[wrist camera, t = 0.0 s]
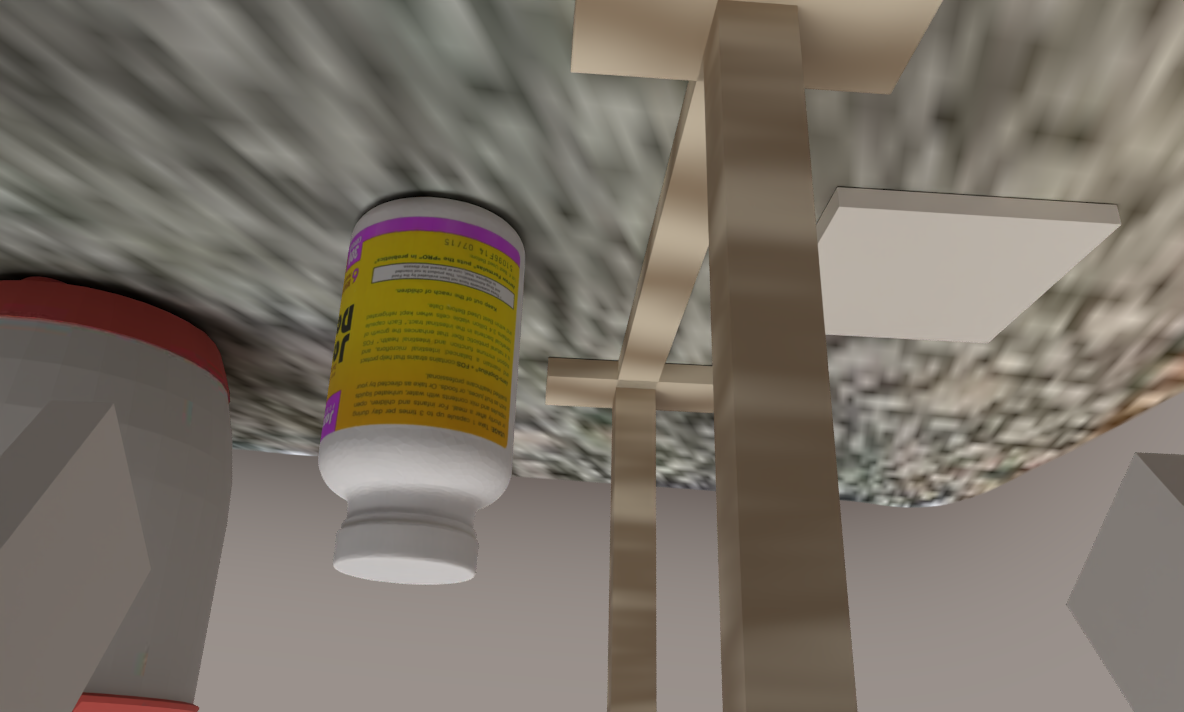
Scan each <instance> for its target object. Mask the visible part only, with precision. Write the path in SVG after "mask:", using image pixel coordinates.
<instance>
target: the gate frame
mask: <svg viewBox="0 0 1184 712" xmlns="http://www.w3.org/2000/svg"><path fill="white" fill-rule="evenodd" d="M942 1H943V0H575V11H574V24H573V38H572V56H571V72H577V73H591V74H605V75H620V76H634V77H648V78H662V79H677V80H689V82H688V86H687V90H686V94H685V98H684V102H683V106H682V110H681V114H680V118H679V122H678V126H677V130H676V134H675V138H674V142H673V146H672V150H671V154H670V158H669V162H668V166H667V170H666V174H665V178H664V182H663V186H662V190H661V194H660V198H659V202H658V206H657V210H656V214H655V218H654V222H653V226H652V230H651V234H650V238H649V242H648V246H647V250H646V254H645V258H644V261H643V265H642V269H641V273H640V277H639V281H638V285H637V289H636V293H635V297H634V301H633V305H632V309H631V313H630V317H629V321H628V325H627V329H626V333H625V337H624V341H623V345H622V349H621V353H620V357H619V361H604V360H585V359H566V358H548V372H547V385H546V405H562V406H582V407H602V408H612V463H611V521H610V580H609V636H608V638H609V639H608V640H609V641H608V696H607V712H656V410H663V411H683V412H704V413H713V411H714V432H715V465H716V497H717V529H718V530H717V531H718V564H719V595H720V596H719V597H720V631H721V664H722V698H723V712H857V701H856V688H855V677H854V665H853V654H852V641H851V630H850V618H849V607H848V595H847V583H846V571H845V560H844V548H843V536H842V524H841V513H840V501H839V489H838V477H837V465H836V454H835V442H834V430H833V418H832V407H831V395H830V383H829V372H828V360H827V348H826V336H825V325H824V313H823V301H822V289H821V278H820V266H819V254H818V242H817V231H816V219H815V207H814V195H813V184H812V172H811V160H810V149H809V137H808V125H807V113H806V102H805V90H804V88H805V89H820V90H834V91H848V92H862V93H877V94H891V92H892V91H893V89H894V87H895V85H896V83H897V82H898V80H899V78H900V76H901V74H902V73H903V71H904V69H905V67H906V65H907V64H908V62H909V60H910V58H911V57H912V55H913V53H914V51H915V49H916V48H917V46H918V44H919V42H920V40H921V39H922V37H923V35H924V33H925V31H926V30H927V28H928V26H929V24H930V22H931V21H932V19H933V17H934V15H935V14H936V12H937V10H938V8H939V6H940V5H941V3H942ZM708 246H709V266H710V299H711V332H712V366H700V365H681V364H665V362H666V359H667V357H668V354H669V351H670V349H671V346H672V343H673V340H674V338H675V335H676V332H677V330H678V327H679V324H680V322H681V319H682V316H683V313H684V311H685V308H686V305H687V303H688V300H689V297H690V294H691V292H692V289H693V286H694V284H695V281H696V278H697V276H698V273H699V270H700V267H701V265H702V262H703V259H704V257H705V254H706V251H707V248H708Z"/></svg>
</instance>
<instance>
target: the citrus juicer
mask: <svg viewBox="0 0 1184 712" xmlns="http://www.w3.org/2000/svg"><path fill="white" fill-rule="evenodd" d="M50 400H53V401H74V402H95V403H114V406H115V410H116V415H117V419H118V424H119V428H120V433H121V437H122V442H123V446H124V451H125V455H126V460H127V464H128V468H129V473H130V477H131V482H132V486H133V491H134V495H135V500H136V504H137V509H138V513H139V518H140V522H141V527H142V531H143V535H144V540H145V544H146V549H147V553H148V558H149V562H150V567H151V570H150V572H149V574H148V576H147V578H146V579H145V581H144V583H143V585H142V587H141V588H140V590H139V592H138V594H137V596H136V597H135V599H134V601H133V603H132V605H131V606H130V608H129V610H128V612H127V614H126V615H125V617H124V619H123V621H122V623H121V624H120V626H119V628H118V630H117V632H116V633H115V635H114V637H113V639H112V641H111V642H110V644H109V646H108V648H107V650H106V651H105V653H104V655H103V657H102V658H101V660H100V662H99V664H98V666H97V667H96V669H95V671H94V673H93V675H92V676H91V678H90V680H89V682H88V684H87V685H86V687H85V689H84V691H83V693H82V694H81V696H80V698H79V700H78V702H77V703H76V705H75V707H74V709H73V711H72V712H197V711H198V710H199V707H198V706H196V705H194V704H193V701H194V697H195V691H196V686H197V680H198V675H199V670H200V665H201V659H202V654H203V648H204V643H205V638H206V633H207V627H208V621H209V617H210V611H211V606H212V601H213V595H214V590H215V584H216V579H217V574H218V568H219V563H220V558H221V553H222V547H223V541H224V536H225V531H226V526H227V518H228V511H229V503H230V495H231V487H232V430H231V421H230V412H229V402H230V392H229V387H228V383H227V378H226V373H225V369H224V366H223V362H222V358H221V354H220V352H219V350H218V348H217V346H216V345H215V343H214V342H213V341H212V340H211V339H210V338H209V337H208V335H207V334H206V333H205V332H203V331H202V330H200V329H198V328H196V327H195V326H193V325H192V324H190V323H189V322H187V321H185V320H183V319H181V318H179V317H177V316H175V315H173V314H171V313H169V312H167V311H164V310H162V309H159V308H157V307H154V306H152V305H149V304H147V303H144V302H141V301H138V300H134V299H131V298H128V297H125V296H121V295H118V294H114V293H110V292H106V291H101V290H97V289H93V288H89V287H83V286H76V285H70V284H66V283H64V282H61V281H59V280H55V279H52V278H47V277H39V276H33V277H27V278H25V279H23V280H2V281H0V456H1V455H2V454H3V453H4V452H5V451H6V449H7V448H8V447H9V446H10V445H11V444H12V443H13V442H14V441H15V439H16V438H17V437H18V436H19V435H20V434H21V433H22V432H23V430H24V429H25V428H26V427H27V426H28V425H29V424H30V423H31V421H32V420H33V419H34V418H35V417H36V416H37V415H38V414H39V412H40V411H41V410H42V409H43V408H44V407H45V406H46V405H47V404H48V402H49V401H50Z"/></svg>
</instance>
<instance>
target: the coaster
mask: <svg viewBox="0 0 1184 712" xmlns="http://www.w3.org/2000/svg"><path fill="white" fill-rule="evenodd" d="M1120 225H1121V221H1120V217H1119V213H1118V208H1117V205H1110V204H1094V203H1079V202H1063V201H1047V200H1032V199H1016V198H1000V197H985V196H969V195H954V194H938V193H922V192H907V191H891V190H875V189H860V188H844V187H837V189H836V190H835V192H834V194H833V196H832V198H831V199H830V201H829V203H828V205H827V207H826V208H825V210H824V212H823V214H822V216H821V217H820V219H819V221H818V223H817V225H816V231H817V242H818V254H819V266H820V278H821V289H822V301H823V313H824V325H825V334H827V335H846V336H864V337H882V338H901V339H919V340H937V341H955V342H974V343H989V342H990V341H991V340H992V339H993V338H994V337H995V336H996V335H998V334H999V333H1000V332H1001V331H1002V330H1003V329H1004V328H1005V327H1007V326H1008V325H1009V324H1010V323H1011V322H1012V321H1013V320H1014V319H1016V318H1017V317H1018V316H1019V315H1020V314H1021V313H1022V312H1023V311H1025V310H1026V309H1027V308H1028V307H1029V306H1030V305H1031V304H1032V303H1034V302H1035V301H1036V300H1037V299H1038V298H1039V297H1040V296H1041V295H1043V294H1044V293H1045V292H1046V291H1047V290H1048V289H1049V288H1050V287H1052V286H1053V285H1054V284H1055V283H1056V282H1057V281H1058V280H1059V279H1061V278H1062V277H1063V276H1064V275H1065V274H1066V273H1067V272H1068V271H1070V270H1071V269H1072V268H1073V267H1074V266H1075V265H1076V264H1077V263H1079V262H1080V261H1081V260H1082V259H1083V258H1084V257H1085V256H1086V255H1088V254H1089V253H1090V252H1091V251H1092V250H1093V249H1094V248H1095V247H1097V246H1098V245H1099V244H1100V243H1101V242H1102V241H1103V240H1104V239H1106V238H1107V237H1108V236H1109V235H1110V234H1111V233H1112V232H1113V231H1115V230H1116V229H1117V228H1118V227H1119V226H1120Z"/></svg>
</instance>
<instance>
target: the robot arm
mask: <svg viewBox="0 0 1184 712" xmlns="http://www.w3.org/2000/svg"><path fill="white" fill-rule="evenodd" d="M150 570H151V567H150V562H149V558H148V553H147V549H146V544H145V540H144V535H143V531H142V527H141V522H140V518H139V513H138V509H137V504H136V500H135V495H134V491H133V486H132V482H131V477H130V473H129V468H128V464H127V460H126V455H125V451H124V446H123V442H122V437H121V433H120V428H119V424H118V419H117V415H116V410H115V406H114V403H95V402H74V401H53V400H50V401H49V402H48V404H47V405H46V406H45V407H44V408H43V409H42V410H41V411H40V412H39V414H38V415H37V416H36V417H35V418H34V419H33V420H32V421H31V423H30V424H29V425H28V426H27V427H26V428H25V429H24V430H23V432H22V433H21V434H20V435H19V436H18V437H17V438H16V439H15V441H14V442H13V443H12V444H11V445H10V446H9V447H8V448H7V449H6V451H5V452H4V453H3V454H2V455H1V456H0V712H72V711H73V709H74V707H75V705H76V703H77V702H78V700H79V698H80V696H81V694H82V693H83V691H84V689H85V687H86V685H87V684H88V682H89V680H90V678H91V676H92V675H93V673H94V671H95V669H96V667H97V666H98V664H99V662H100V660H101V658H102V657H103V655H104V653H105V651H106V650H107V648H108V646H109V644H110V642H111V641H112V639H113V637H114V635H115V633H116V632H117V630H118V628H119V626H120V624H121V623H122V621H123V619H124V617H125V615H126V614H127V612H128V610H129V608H130V606H131V605H132V603H133V601H134V599H135V597H136V596H137V594H138V592H139V590H140V588H141V587H142V585H143V583H144V581H145V579H146V578H147V576H148V574H149V572H150ZM1066 605H1067V607H1068V608H1069V610H1070V611H1071V613H1072V615H1073V616H1074V618H1075V619H1076V621H1077V623H1078V624H1079V626H1080V627H1081V629H1082V630H1083V632H1084V634H1085V635H1086V637H1087V638H1088V640H1089V641H1090V643H1091V645H1092V646H1093V648H1094V649H1095V651H1096V653H1097V654H1098V656H1099V657H1100V659H1101V660H1102V662H1103V664H1104V665H1105V667H1106V668H1107V670H1108V671H1109V673H1110V675H1111V676H1112V678H1113V679H1114V681H1115V683H1116V684H1117V686H1118V687H1119V689H1120V691H1121V692H1122V694H1123V695H1124V697H1125V698H1126V700H1127V701H1128V703H1129V705H1130V706H1131V708H1132V709H1133V711H1134V712H1184V455H1179V454H1158V453H1137V452H1136V453H1135V454H1134V456H1133V458H1132V461H1131V463H1130V465H1129V467H1128V469H1127V472H1126V474H1125V476H1124V478H1123V480H1122V483H1121V485H1120V487H1119V489H1118V491H1117V494H1116V496H1115V498H1114V500H1113V503H1112V505H1111V507H1110V509H1109V511H1108V513H1107V516H1106V518H1105V520H1104V522H1103V525H1102V527H1101V529H1100V531H1099V533H1098V536H1097V537H1096V540H1095V542H1094V544H1093V546H1092V549H1091V551H1090V553H1089V555H1088V557H1087V560H1086V562H1085V564H1084V566H1083V568H1082V571H1081V573H1080V575H1079V577H1078V580H1077V582H1076V584H1075V586H1074V588H1073V590H1072V592H1071V595H1070V597H1069V599H1068V601H1067V604H1066Z"/></svg>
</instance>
